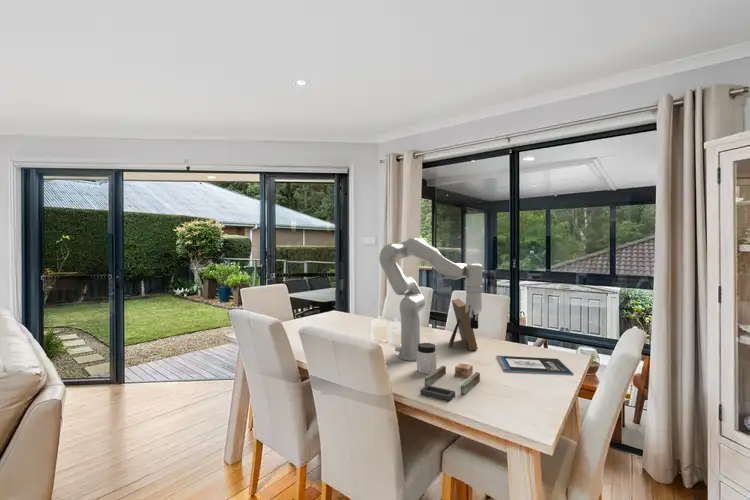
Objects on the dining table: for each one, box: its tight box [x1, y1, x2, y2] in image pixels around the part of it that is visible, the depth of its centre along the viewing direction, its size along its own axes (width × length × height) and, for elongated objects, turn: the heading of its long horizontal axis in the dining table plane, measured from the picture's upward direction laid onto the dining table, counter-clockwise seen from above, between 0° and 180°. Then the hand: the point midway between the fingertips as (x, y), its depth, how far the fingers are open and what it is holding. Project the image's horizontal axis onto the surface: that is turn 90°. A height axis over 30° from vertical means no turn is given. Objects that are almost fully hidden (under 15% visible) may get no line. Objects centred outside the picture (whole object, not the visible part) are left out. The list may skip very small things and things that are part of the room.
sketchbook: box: [495, 355, 574, 376], centre depth 185 cm, size 22×30×2 cm
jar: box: [416, 342, 437, 375], centre depth 178 cm, size 9×8×12 cm
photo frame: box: [448, 298, 478, 352], centre depth 220 cm, size 15×22×25 cm
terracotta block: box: [454, 362, 474, 379], centre depth 173 cm, size 6×6×4 cm
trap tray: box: [419, 385, 456, 403], centre depth 150 cm, size 12×6×2 cm, turn 56°
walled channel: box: [424, 365, 481, 396], centre depth 163 cm, size 17×18×4 cm
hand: (474, 328), depth 184 cm, fingers closed
